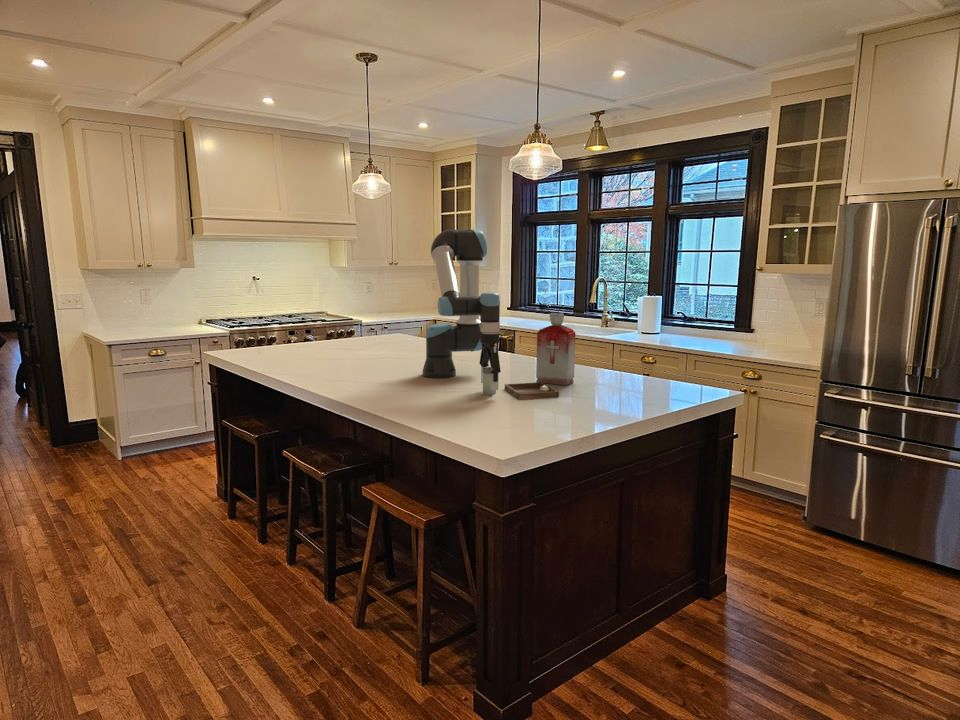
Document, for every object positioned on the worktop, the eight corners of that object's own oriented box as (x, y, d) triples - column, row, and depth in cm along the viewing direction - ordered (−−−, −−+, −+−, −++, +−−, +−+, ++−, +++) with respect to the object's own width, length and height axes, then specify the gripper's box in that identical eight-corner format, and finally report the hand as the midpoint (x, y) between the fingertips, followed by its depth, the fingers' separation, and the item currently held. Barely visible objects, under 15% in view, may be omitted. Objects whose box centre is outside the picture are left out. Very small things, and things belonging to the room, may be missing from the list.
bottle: (534, 383, 266) (536, 313, 260) (543, 379, 275) (545, 311, 269) (566, 387, 259) (569, 315, 254) (575, 383, 268) (577, 313, 263)
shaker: (480, 393, 248) (480, 366, 246) (493, 392, 250) (494, 365, 248) (484, 396, 243) (484, 369, 241) (498, 395, 245) (498, 368, 243)
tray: (504, 390, 253) (504, 384, 253) (541, 388, 258) (541, 382, 257) (519, 400, 236) (519, 394, 236) (558, 398, 241) (558, 391, 240)
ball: (538, 393, 246) (538, 384, 245) (546, 393, 246) (546, 384, 246) (541, 395, 242) (541, 386, 241) (550, 395, 243) (550, 386, 242)
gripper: (472, 329, 253) (472, 380, 256) (489, 336, 229) (489, 393, 233) (489, 329, 255) (489, 380, 258) (509, 336, 231) (508, 392, 235)
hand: (489, 386), depth 246 cm, fingers open, 13 cm apart
